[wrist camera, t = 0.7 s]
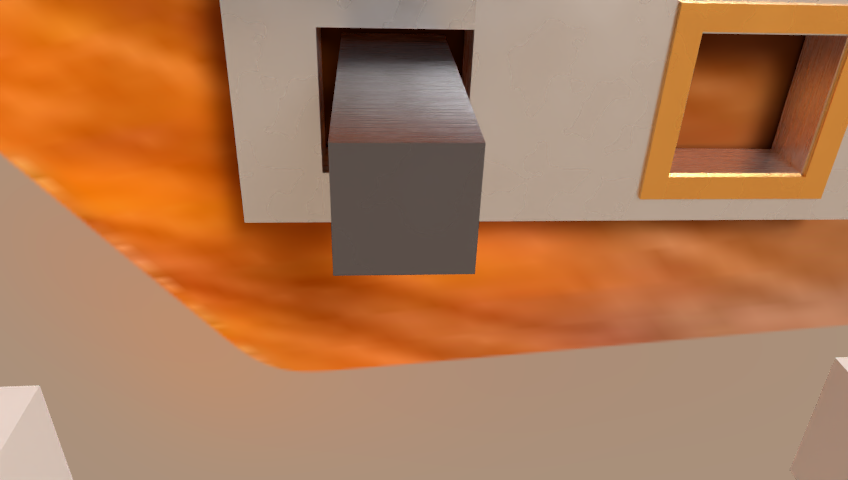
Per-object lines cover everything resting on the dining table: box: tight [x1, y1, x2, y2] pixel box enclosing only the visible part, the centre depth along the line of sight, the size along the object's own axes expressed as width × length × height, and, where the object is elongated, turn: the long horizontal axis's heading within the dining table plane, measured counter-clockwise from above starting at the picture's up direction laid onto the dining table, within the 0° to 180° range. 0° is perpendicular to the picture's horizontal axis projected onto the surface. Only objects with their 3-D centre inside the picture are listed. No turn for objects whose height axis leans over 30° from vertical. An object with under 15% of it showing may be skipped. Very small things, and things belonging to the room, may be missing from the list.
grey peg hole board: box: [220, 0, 848, 223], centre depth 27 cm, size 10×26×3 cm, turn 88°
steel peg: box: [328, 33, 486, 276], centre depth 23 cm, size 4×4×11 cm
